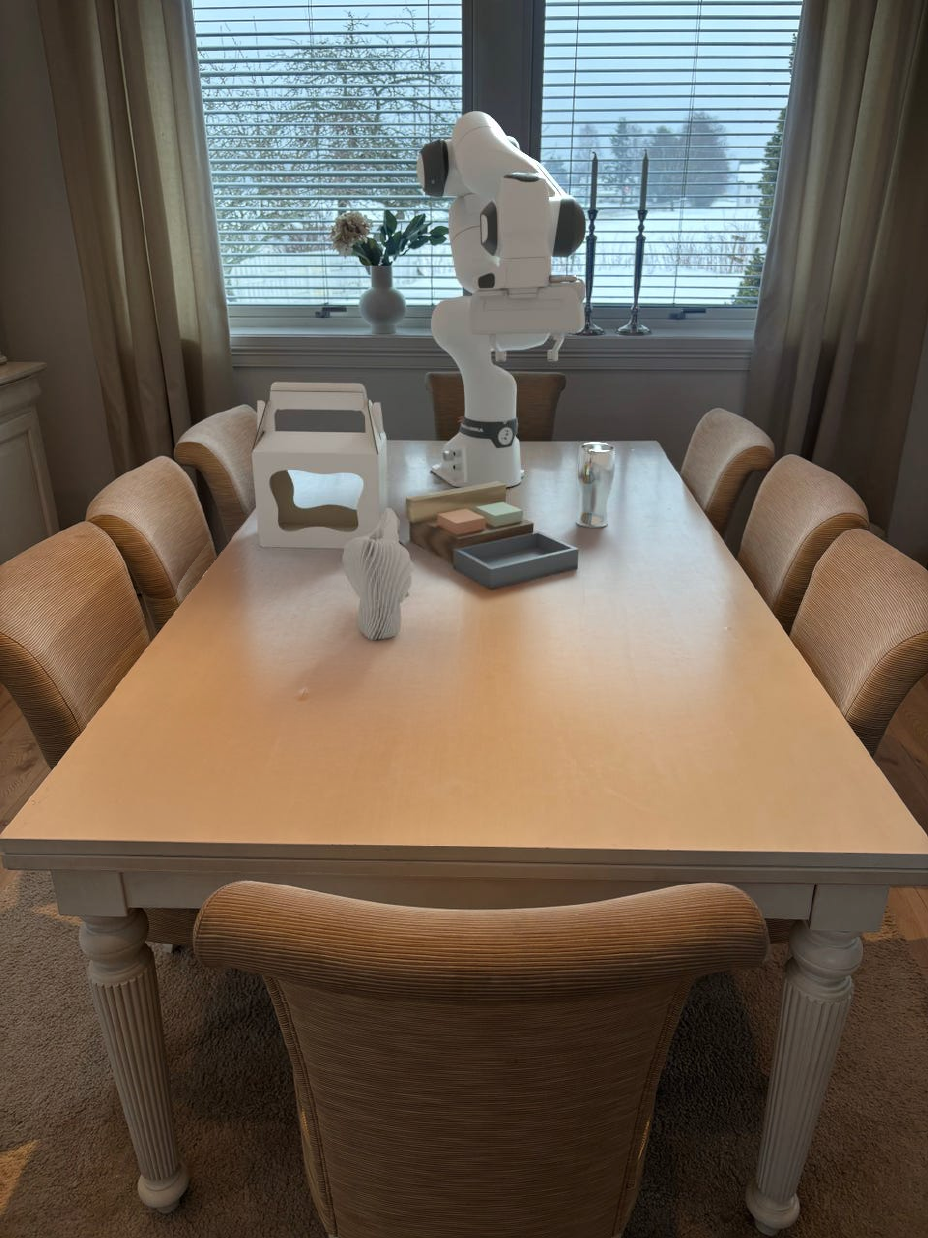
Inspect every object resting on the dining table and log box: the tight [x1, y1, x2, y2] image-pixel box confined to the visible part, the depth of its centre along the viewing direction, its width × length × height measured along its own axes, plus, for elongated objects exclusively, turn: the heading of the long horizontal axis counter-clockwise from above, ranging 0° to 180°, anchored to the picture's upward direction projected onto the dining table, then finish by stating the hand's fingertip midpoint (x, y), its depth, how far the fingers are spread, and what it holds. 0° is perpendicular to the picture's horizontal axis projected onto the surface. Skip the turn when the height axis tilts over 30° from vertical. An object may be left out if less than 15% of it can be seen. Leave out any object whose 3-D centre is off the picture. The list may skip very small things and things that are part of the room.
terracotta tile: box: [437, 509, 485, 535], centre depth 161 cm, size 6×6×2 cm
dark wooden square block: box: [408, 511, 535, 565], centre depth 167 cm, size 16×16×5 cm
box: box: [452, 530, 580, 591], centre depth 157 cm, size 11×18×4 cm, turn 123°
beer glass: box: [575, 442, 616, 529], centre depth 177 cm, size 7×7×15 cm
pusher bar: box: [405, 481, 507, 523], centre depth 169 cm, size 2×20×4 cm, turn 123°
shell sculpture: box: [342, 507, 414, 641], centre depth 129 cm, size 8×8×18 cm
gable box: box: [251, 381, 389, 550], centre depth 166 cm, size 22×13×28 cm, turn 88°
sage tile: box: [475, 502, 524, 527], centre depth 165 cm, size 6×6×2 cm
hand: (526, 360), depth 163 cm, fingers open, 8 cm apart
